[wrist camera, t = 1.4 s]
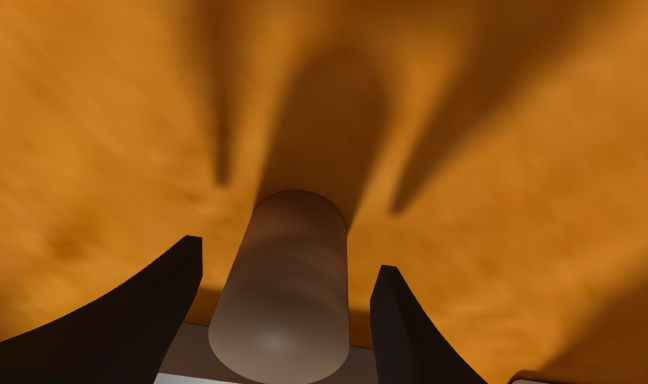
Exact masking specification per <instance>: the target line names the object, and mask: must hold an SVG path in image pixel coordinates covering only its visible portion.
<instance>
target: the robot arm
mask: <svg viewBox="0 0 648 384" xmlns="http://www.w3.org/2000/svg"><path fill="white" fill-rule="evenodd" d="M202 276H203V264H202V237H196V236H189V235H186V236H185V237H183V238H182V239H181V240H179V241H178V242H177V243H176V244H175V245H173V246H172V247H171V248H170V249H169V250H167V251H166V252H165V253H164V254H162V255H161V256H160V257H159V258H157V259H156V260H155V261H153V262H152V263H151V264H149V265H148V266H147V267H145V268H144V269H143V270H141V271H140V272H139V273H137V274H136V275H134V276H133V277H131V278H130V279H128V280H127V281H126V282H124V283H123V284H121V285H120V286H118V287H116V288H115V289H113V290H112V291H110V292H108V293H107V294H105V295H103V296H102V297H100V298H98V299H96V300H95V301H93V302H91V303H89V304H87V305H85V306H83V307H81V308H79V309H77V310H75V311H73V312H71V313H69V314H67V315H65V316H63V317H61V318H59V319H57V320H54V321H52V322H50V323H48V324H45V325H43V326H41V327H38V328H36V329H34V330H31V331H29V332H26V333H24V334H21V335H18V336H16V337H13V338H10V339H7V340H5V341H2V342H0V384H154V382H155V379H156V377H157V374H158V372H159V369H160V367H161V364H162V362H163V360H164V358H165V355H166V353H167V351H168V349H169V347H170V345H171V343H172V341H173V339H174V337H175V336H176V334H177V332H178V330H179V328H180V326H181V324H182V322H183V320H184V318H185V316H186V314H187V312H188V310H189V308H190V306H191V304H192V302H193V300H194V298H195V296H196V293H197V290H198V288H199V285H200V282H201V279H202ZM370 324H371V332H372V340H373V347H374V354H375V361H376V368H377V375H378V384H488V383H487V382H486V381H485V380H483V379H482V378H481V377H480V376H479V375H478V374H477V373H476V372H475V371H474V370H473V369H472V368H471V367H470V366H469V365H468V364H467V363H466V362H465V361H464V360H463V359H462V358H461V357H460V356H459V354H458V353H457V352H456V351H455V350H454V349H453V348H452V347H451V345H450V344H449V343H448V342H447V341H446V340H445V338H444V337H443V336H442V335H441V334H440V332H439V331H438V330H437V328H436V327H435V326H434V324H433V323H432V322H431V320H430V319H429V317H428V316H427V315H426V313H425V312H424V310H423V309H422V307H421V306H420V304H419V303H418V301H417V300H416V298H415V296H414V295H413V293H412V292H411V290H410V288H409V287H408V285H407V283H406V282H405V280H404V278H403V277H402V275H401V273H400V271H399V270H398V268H397V267H394V266H388V265H381V268H380V271H379V274H378V278H377V281H376V284H375V287H374V290H373V293H372V296H371V299H370ZM512 384H548V383H541V382H534V381H527V380H516V381H514V382H513V383H512Z"/></svg>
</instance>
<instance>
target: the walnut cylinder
mask: <svg viewBox="0 0 648 384" xmlns="http://www.w3.org/2000/svg"><path fill="white" fill-rule="evenodd" d="M208 338H209V343H210V346H211V348H212V350H213V352H214V353H215V355H216V356H217V358H218V359H219V360H220V361H221V362H222V363H223V364H224V365H226V366H227V367H228V368H229V369H231V370H232V371H234V372H236V373H237V374H239V375H241V376H243V377H246V378H248V379H251V380H254V381H257V382H261V383H265V384H308V383H312V382H316V381H319V380H321V379H323V378H326V377H328V376H329V375H331V374H332V373H334V372H335V371H336V370H338V369H339V368H340V366H341V365H342V364H343V363H344V361H345V360H346V358H347V355H348V352H349V307H348V270H347V232H346V224H345V221H344V218H343V216H342V214H341V212H340V211H339V210H338V208H337V207H336V206H335V205H334V204H333V203H332V202H330V201H329V200H328V199H326V198H324V197H323V196H320V195H318V194H316V193H313V192H309V191H305V190H286V191H281V192H278V193H275V194H273V195H271V196H269V197H267V198H266V199H264V200H263V201H262V202H261V203H260V204H259V205H258V206H257V207H256V209H255V210H254V212H253V214H252V217H251V219H250V222H249V225H248V227H247V230H246V232H245V235H244V237H243V240H242V243H241V245H240V248H239V250H238V253H237V255H236V258H235V261H234V263H233V266H232V268H231V271H230V273H229V276H228V279H227V281H226V284H225V286H224V289H223V291H222V294H221V296H220V299H219V302H218V304H217V307H216V309H215V312H214V314H213V317H212V320H211V322H210V325H209V330H208Z"/></svg>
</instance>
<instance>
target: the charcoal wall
mask: <svg viewBox="0 0 648 384" xmlns="http://www.w3.org/2000/svg"><path fill="white" fill-rule="evenodd" d="M208 330H209V326H203V325H196V324H188V323H182V324H181V326H180V328H179V330H178V332H177V334H176V336H175V337H174V339H173V341H172V343H171V345H170V347H169V349H168V351H167V353H166V355H165V358H164V360H163V362H162V364H161V367H160V369H159V372H158V374H157V377H156V379H155V382H154V384H265V383H261V382H257V381H254V380H251V379H248V378H246V377H243V376H241V375H239V374H237V373H236V372H234V371H232V370H231V369H229V368H228V367H227V366H226V365H224V364H223V363H222V362H221V361H220V360H219V359H218V358H217V356H216V355H215V353H214V352H213V350H212V348H211V346H210V343H209V338H208ZM308 384H378V375H377V368H376V361H375V354H374V350H372V349H365V348H358V347H351V346H349V352H348V355H347V358H346V360H345V361H344V363H343V364H342V365H341V366H340V368H339V369H338V370H336V371H335V372H334V373H332V374H331V375H329V376H328V377H326V378H323V379H321V380H319V381H316V382H312V383H308Z"/></svg>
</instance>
